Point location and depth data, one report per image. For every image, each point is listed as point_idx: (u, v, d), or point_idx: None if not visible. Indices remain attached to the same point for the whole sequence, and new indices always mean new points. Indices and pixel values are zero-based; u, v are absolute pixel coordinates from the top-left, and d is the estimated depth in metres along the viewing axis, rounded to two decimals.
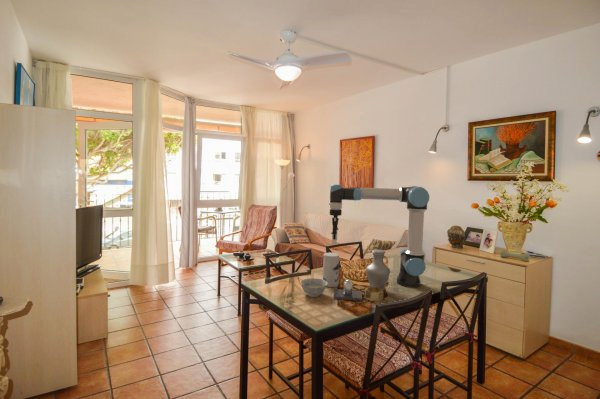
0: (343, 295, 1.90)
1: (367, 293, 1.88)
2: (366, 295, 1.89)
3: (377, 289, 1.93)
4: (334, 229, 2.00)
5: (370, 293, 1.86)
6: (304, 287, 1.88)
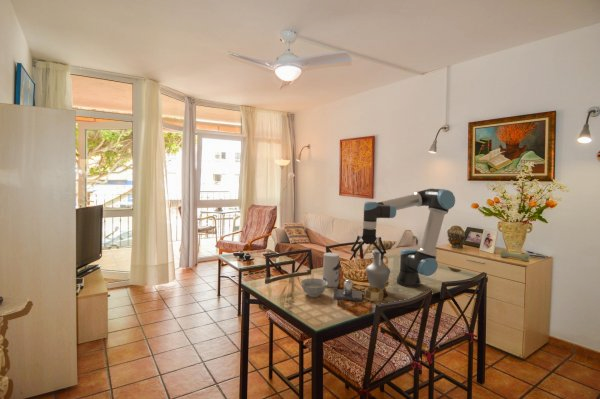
0: (343, 295, 1.90)
1: (367, 293, 1.88)
2: (366, 295, 1.89)
3: (377, 289, 1.93)
4: (352, 246, 1.94)
5: (370, 293, 1.86)
6: (304, 287, 1.88)
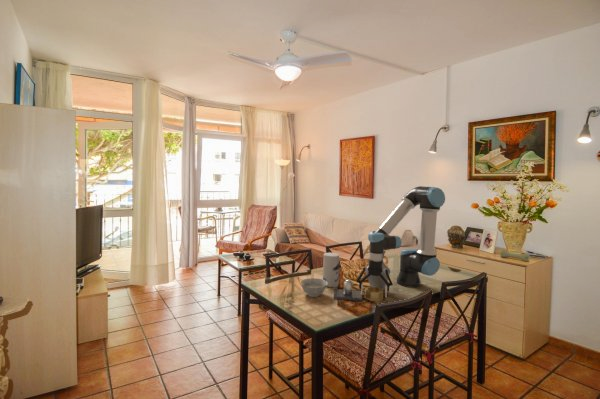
0: (343, 295, 1.90)
1: (367, 293, 1.88)
2: (366, 295, 1.89)
3: (377, 289, 1.93)
4: (358, 277, 1.91)
5: (370, 293, 1.86)
6: (304, 287, 1.88)
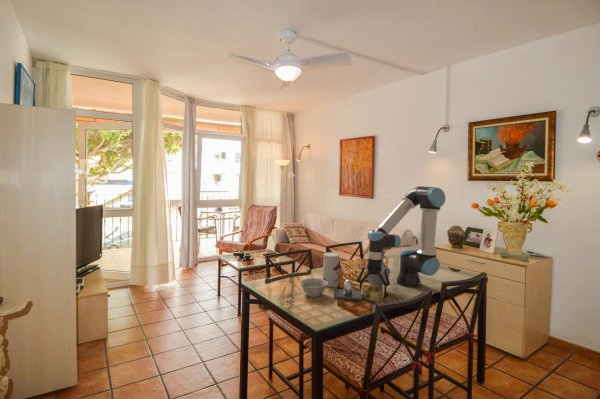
0: (343, 295, 1.90)
1: (367, 293, 1.88)
2: (366, 295, 1.89)
3: (377, 289, 1.93)
4: (358, 277, 1.91)
5: (370, 293, 1.86)
6: (304, 287, 1.88)
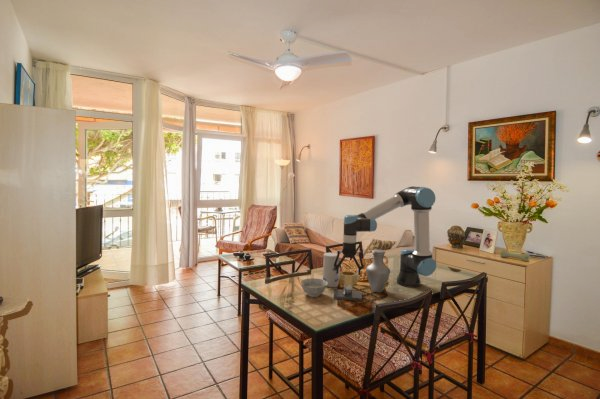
0: (343, 295, 1.90)
1: (341, 277, 1.89)
2: (340, 279, 1.90)
3: (351, 273, 1.94)
4: None
5: (344, 276, 1.88)
6: (304, 287, 1.88)
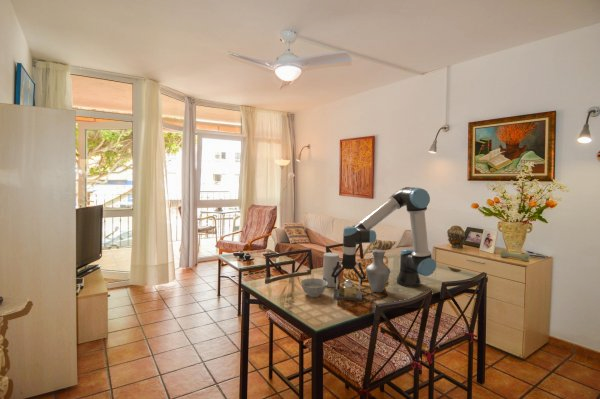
0: None
1: (341, 289, 1.90)
2: (340, 291, 1.91)
3: None
4: None
5: (343, 288, 1.88)
6: (304, 287, 1.88)
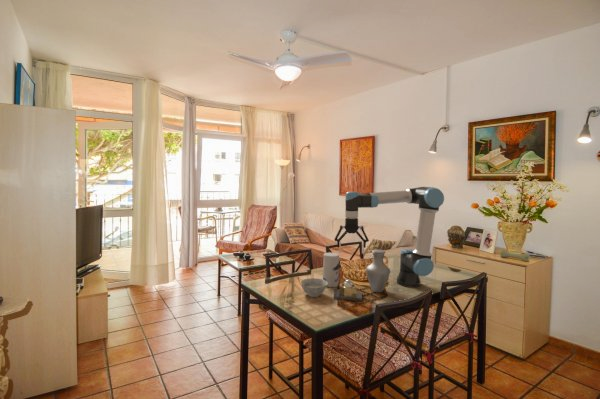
0: None
1: (341, 289, 1.90)
2: (340, 291, 1.91)
3: None
4: None
5: (343, 288, 1.88)
6: (304, 287, 1.88)
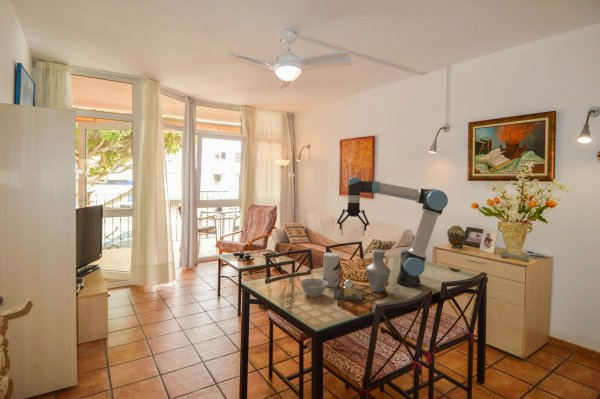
0: None
1: (341, 289, 1.90)
2: (340, 291, 1.91)
3: None
4: (338, 219, 2.09)
5: (343, 288, 1.88)
6: (304, 287, 1.88)
